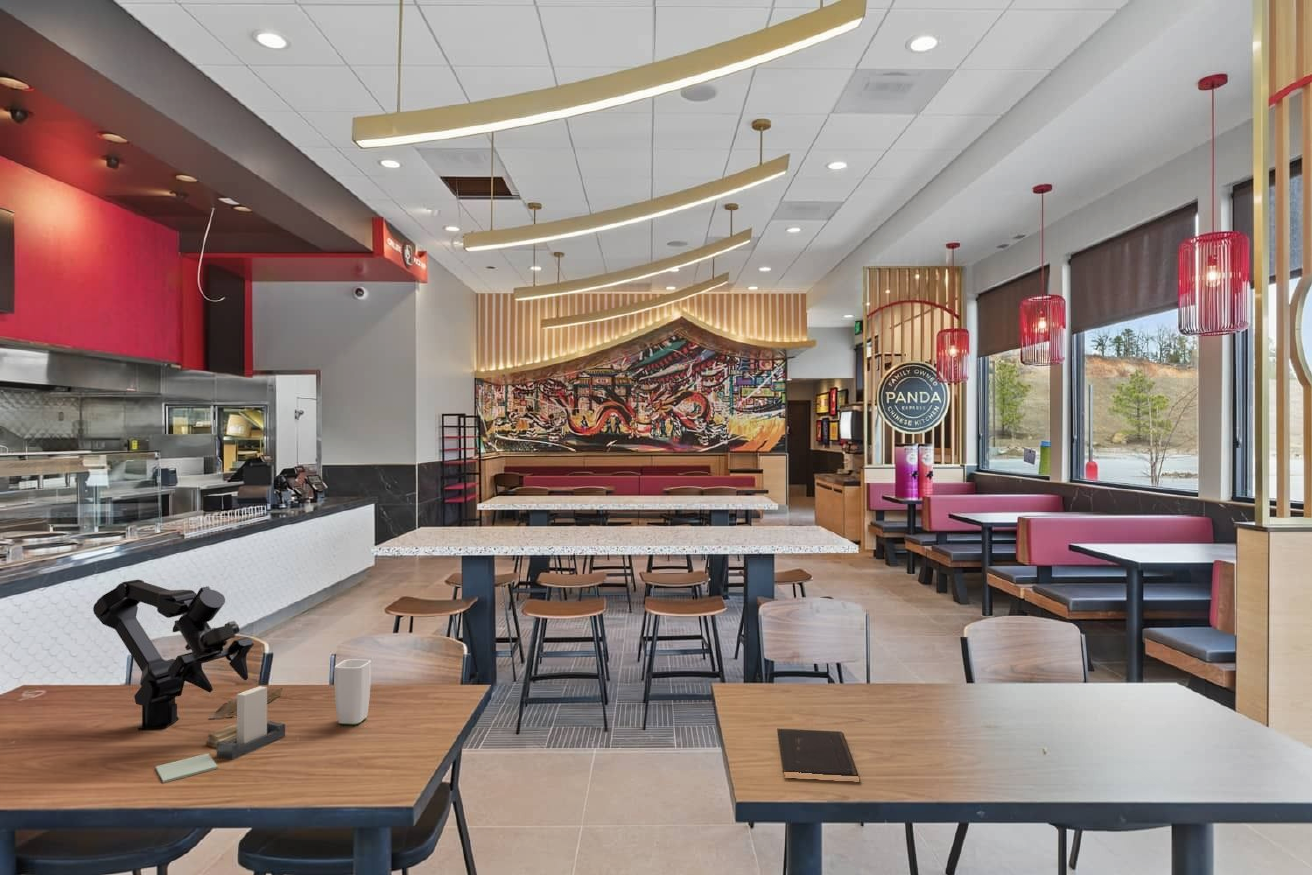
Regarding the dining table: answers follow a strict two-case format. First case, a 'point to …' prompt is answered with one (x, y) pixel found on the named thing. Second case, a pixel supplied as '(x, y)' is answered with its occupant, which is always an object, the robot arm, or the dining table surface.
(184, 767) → the sage mat
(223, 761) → the dining table surface
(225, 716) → the carved relief fragment
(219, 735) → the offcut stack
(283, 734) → the slot rack
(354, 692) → the cup
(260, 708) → the tall block
